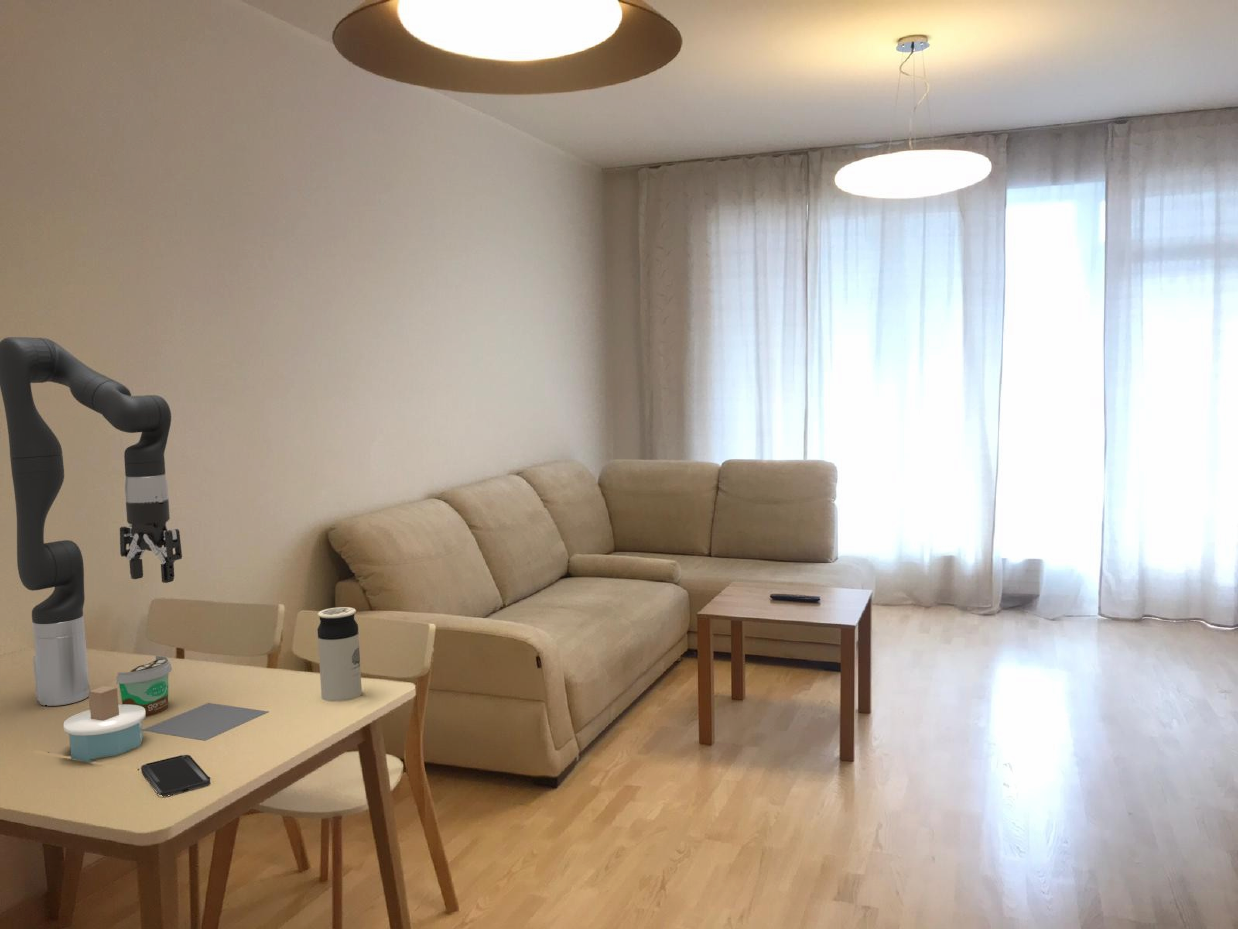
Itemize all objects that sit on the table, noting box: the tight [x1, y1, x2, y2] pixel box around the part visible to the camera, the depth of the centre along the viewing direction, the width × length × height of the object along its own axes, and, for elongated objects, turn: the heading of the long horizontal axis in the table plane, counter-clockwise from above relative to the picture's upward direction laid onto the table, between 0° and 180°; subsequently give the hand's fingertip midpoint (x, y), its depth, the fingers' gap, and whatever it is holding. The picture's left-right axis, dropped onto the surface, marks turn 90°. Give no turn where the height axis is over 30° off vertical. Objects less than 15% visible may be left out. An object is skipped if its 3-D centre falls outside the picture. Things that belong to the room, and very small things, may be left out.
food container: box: [115, 655, 173, 717], centre depth 194 cm, size 12×6×10 cm, turn 168°
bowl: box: [68, 720, 144, 763], centre depth 175 cm, size 11×11×5 cm
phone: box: [140, 754, 211, 797], centre depth 162 cm, size 8×1×15 cm
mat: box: [142, 702, 270, 742], centre depth 187 cm, size 16×16×1 cm
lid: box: [63, 685, 147, 736], centre depth 175 cm, size 13×13×6 cm
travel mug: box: [317, 606, 363, 702], centre depth 200 cm, size 8×8×18 cm
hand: (152, 580), depth 192 cm, fingers open, 8 cm apart
